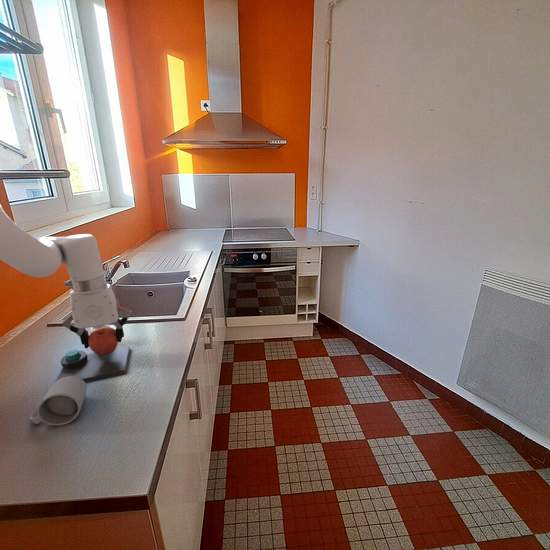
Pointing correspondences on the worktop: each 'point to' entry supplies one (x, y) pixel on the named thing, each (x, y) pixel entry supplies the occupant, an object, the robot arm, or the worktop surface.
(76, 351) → the tare button
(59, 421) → the ceramic mug
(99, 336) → the apple
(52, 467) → the worktop surface
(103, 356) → the scale
